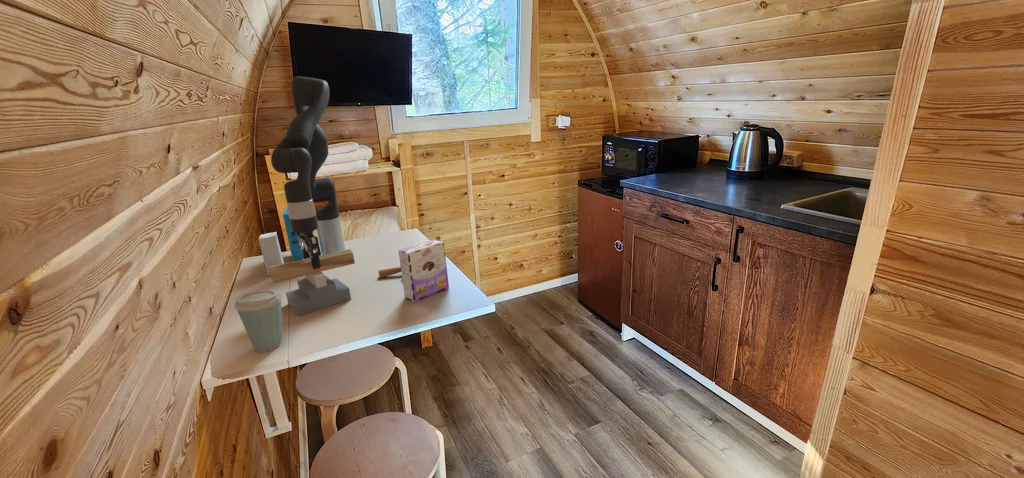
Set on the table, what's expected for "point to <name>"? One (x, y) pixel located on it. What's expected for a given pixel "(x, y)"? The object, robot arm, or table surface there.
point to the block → (292, 238)
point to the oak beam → (306, 268)
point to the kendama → (389, 271)
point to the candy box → (423, 269)
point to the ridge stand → (317, 293)
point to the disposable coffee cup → (261, 318)
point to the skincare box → (270, 250)
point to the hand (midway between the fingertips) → (312, 265)
